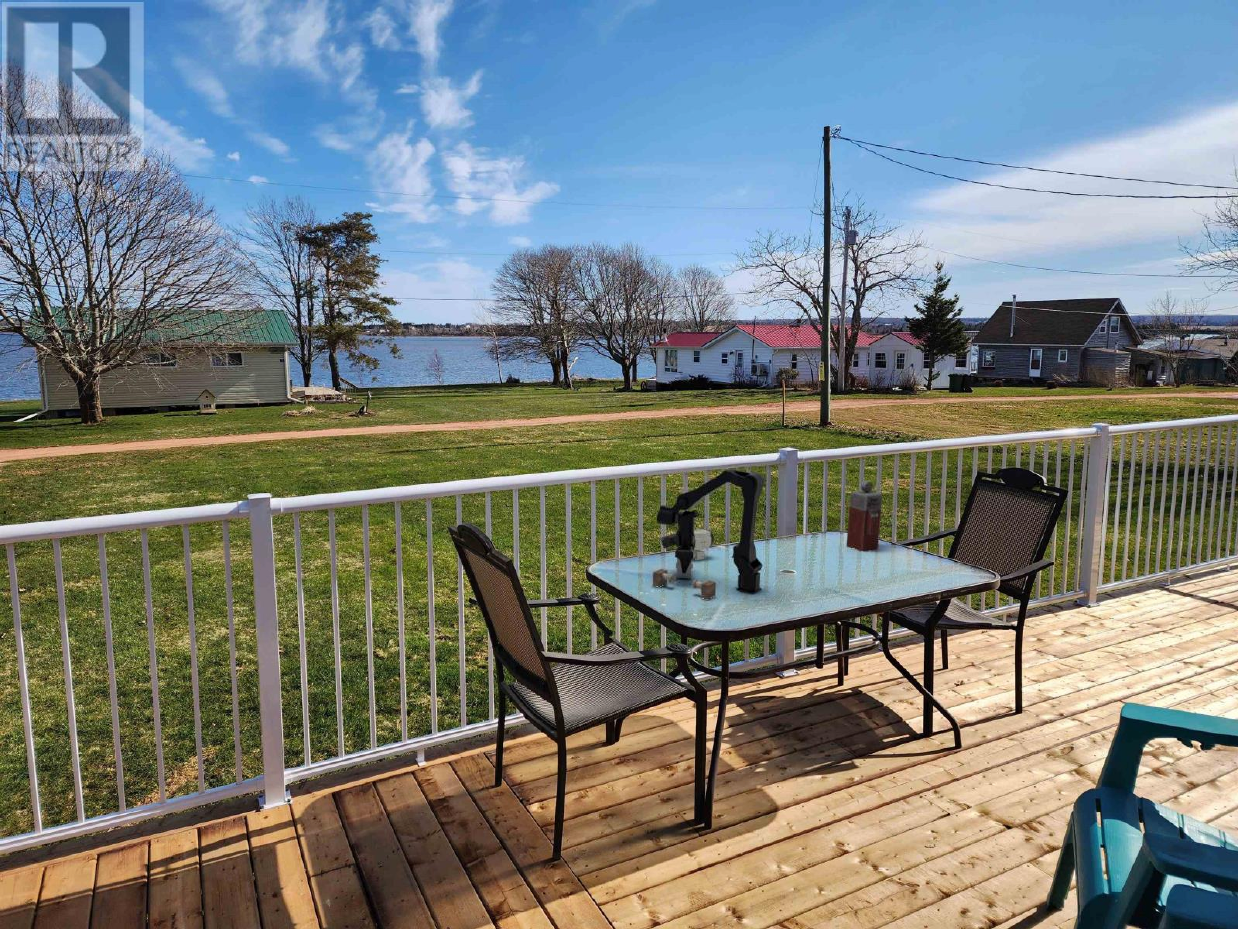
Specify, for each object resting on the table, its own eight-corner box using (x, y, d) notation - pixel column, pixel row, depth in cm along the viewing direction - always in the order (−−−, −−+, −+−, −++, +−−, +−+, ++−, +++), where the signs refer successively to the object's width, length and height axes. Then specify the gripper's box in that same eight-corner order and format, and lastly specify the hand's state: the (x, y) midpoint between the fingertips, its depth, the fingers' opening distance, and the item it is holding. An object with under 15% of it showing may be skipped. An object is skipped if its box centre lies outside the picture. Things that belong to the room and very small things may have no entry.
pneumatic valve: (681, 559, 294) (683, 529, 292) (705, 555, 300) (707, 525, 298) (690, 563, 289) (691, 532, 287) (714, 559, 295) (716, 528, 293)
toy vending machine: (866, 553, 310) (871, 484, 305) (846, 546, 319) (851, 480, 315) (882, 551, 314) (888, 483, 309) (862, 544, 323) (867, 478, 319)
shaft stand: (715, 596, 252) (716, 581, 251) (707, 600, 248) (708, 585, 247) (660, 582, 265) (661, 568, 264) (652, 586, 261) (653, 572, 260)
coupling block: (692, 575, 274) (693, 553, 272) (692, 579, 269) (693, 557, 267) (675, 574, 274) (676, 552, 273) (675, 578, 269) (675, 556, 268)
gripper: (664, 520, 279) (663, 562, 281) (661, 533, 260) (659, 577, 263) (695, 522, 277) (693, 564, 280) (694, 535, 259) (692, 579, 262)
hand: (684, 571), depth 271 cm, fingers closed on coupling block, 5 cm apart
